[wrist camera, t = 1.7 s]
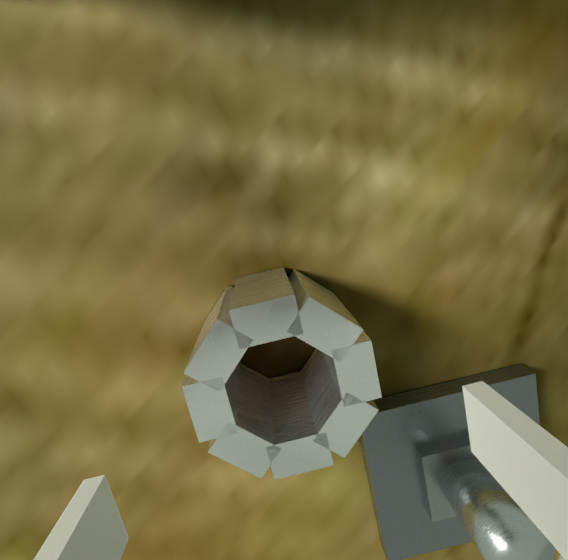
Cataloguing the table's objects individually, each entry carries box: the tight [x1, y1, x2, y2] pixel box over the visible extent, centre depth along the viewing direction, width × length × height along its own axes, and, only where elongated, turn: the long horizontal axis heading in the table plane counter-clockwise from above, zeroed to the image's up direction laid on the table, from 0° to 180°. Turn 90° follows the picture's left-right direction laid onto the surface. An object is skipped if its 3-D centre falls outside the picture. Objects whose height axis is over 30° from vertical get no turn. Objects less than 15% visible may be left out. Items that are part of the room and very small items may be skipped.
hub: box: [182, 267, 382, 480], centre depth 21 cm, size 9×9×7 cm
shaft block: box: [359, 364, 555, 560], centre depth 24 cm, size 12×12×8 cm
